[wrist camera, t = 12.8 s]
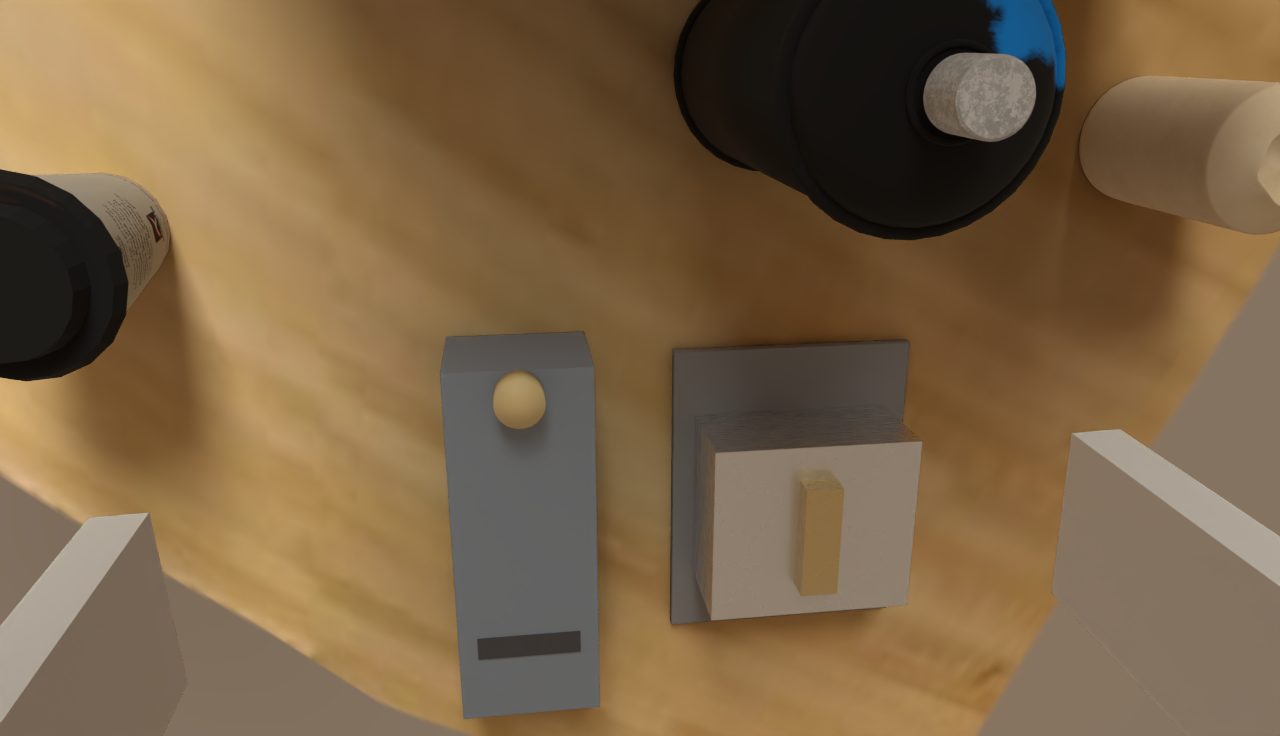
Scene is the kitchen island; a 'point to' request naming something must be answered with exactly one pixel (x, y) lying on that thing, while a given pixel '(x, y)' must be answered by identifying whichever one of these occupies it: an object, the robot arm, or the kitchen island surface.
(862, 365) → the rubber mat
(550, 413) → the block plane
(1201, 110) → the candle
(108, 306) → the coffee cup
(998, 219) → the kitchen island surface
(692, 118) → the aerosol can
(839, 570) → the lever cap
